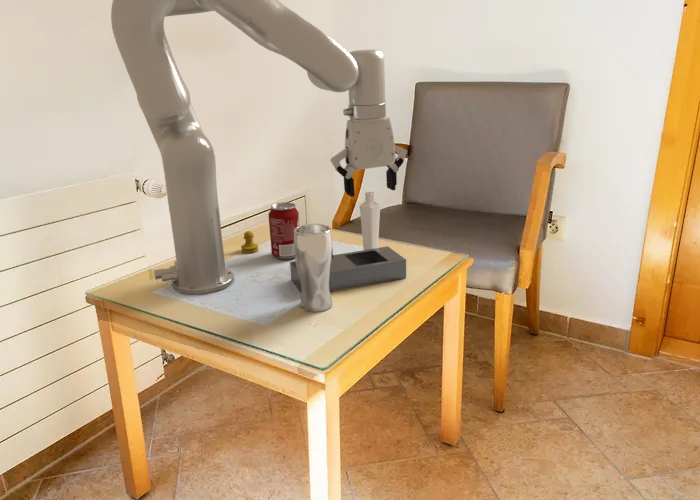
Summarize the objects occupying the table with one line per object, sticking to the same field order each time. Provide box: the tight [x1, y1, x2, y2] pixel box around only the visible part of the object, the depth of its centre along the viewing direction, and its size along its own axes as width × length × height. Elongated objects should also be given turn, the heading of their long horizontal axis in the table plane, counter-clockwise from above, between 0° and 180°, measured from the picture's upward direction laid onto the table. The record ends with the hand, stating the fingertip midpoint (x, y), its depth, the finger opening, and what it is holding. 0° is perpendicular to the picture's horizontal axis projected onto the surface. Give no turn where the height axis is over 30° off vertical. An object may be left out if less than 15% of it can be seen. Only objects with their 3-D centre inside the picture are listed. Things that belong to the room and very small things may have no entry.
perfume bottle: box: [359, 191, 381, 250], centre depth 132 cm, size 5×4×15 cm
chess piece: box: [240, 230, 259, 255], centre depth 140 cm, size 4×4×5 cm
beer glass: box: [294, 223, 334, 313], centre depth 109 cm, size 7×7×15 cm
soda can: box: [267, 201, 300, 261], centre depth 135 cm, size 7×7×12 cm
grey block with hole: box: [289, 246, 407, 293], centre depth 122 cm, size 22×9×4 cm, turn 111°
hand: (371, 192), depth 130 cm, fingers open, 9 cm apart
